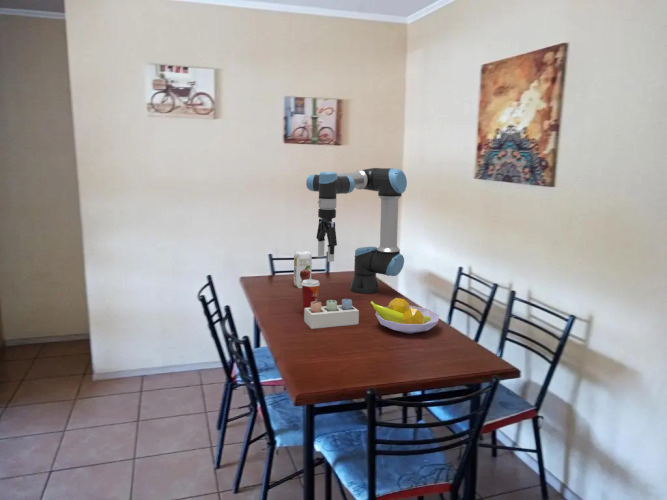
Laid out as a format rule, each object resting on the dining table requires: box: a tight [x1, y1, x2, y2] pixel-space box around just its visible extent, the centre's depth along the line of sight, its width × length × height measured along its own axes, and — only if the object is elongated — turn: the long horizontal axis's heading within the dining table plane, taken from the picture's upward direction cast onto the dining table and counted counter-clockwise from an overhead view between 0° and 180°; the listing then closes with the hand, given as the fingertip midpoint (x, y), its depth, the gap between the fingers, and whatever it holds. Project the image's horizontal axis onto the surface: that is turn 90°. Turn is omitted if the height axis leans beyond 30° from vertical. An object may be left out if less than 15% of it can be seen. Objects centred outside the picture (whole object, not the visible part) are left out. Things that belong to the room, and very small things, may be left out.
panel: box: [303, 304, 360, 330], centre depth 218 cm, size 21×10×6 cm, turn 111°
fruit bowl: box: [369, 297, 440, 334], centre depth 214 cm, size 28×27×11 cm
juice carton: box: [293, 250, 313, 289], centre depth 275 cm, size 8×9×19 cm
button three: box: [311, 300, 322, 313], centre depth 215 cm, size 4×4×6 cm
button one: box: [341, 298, 353, 310], centre depth 220 cm, size 4×4×6 cm
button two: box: [325, 299, 338, 312], centre depth 217 cm, size 4×4×6 cm
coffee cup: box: [301, 278, 321, 314], centre depth 229 cm, size 8×8×15 cm
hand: (325, 258), depth 221 cm, fingers open, 12 cm apart
